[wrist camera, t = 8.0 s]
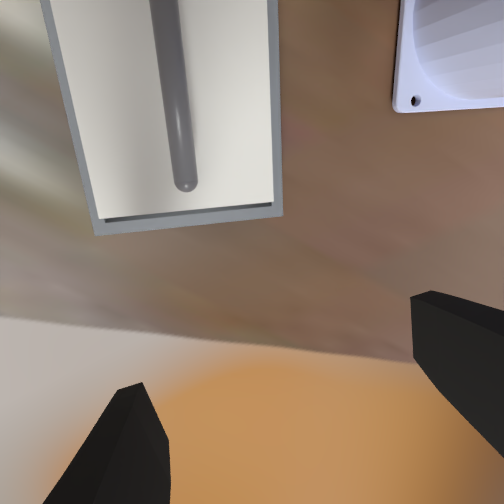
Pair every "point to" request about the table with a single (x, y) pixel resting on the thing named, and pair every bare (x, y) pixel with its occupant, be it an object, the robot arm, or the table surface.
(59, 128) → the table surface
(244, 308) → the table surface
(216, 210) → the slate drawer housing
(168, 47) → the white drawer with handle
